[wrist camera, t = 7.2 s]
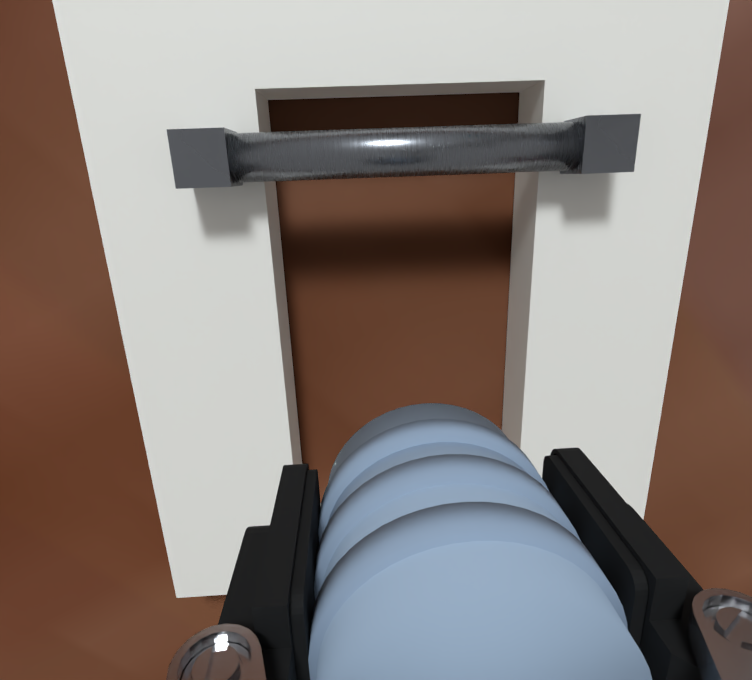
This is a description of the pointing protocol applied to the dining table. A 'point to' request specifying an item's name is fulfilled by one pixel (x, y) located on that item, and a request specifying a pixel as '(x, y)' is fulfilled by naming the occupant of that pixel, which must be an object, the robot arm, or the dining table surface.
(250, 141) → the dark gray bar handle
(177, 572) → the white frame with handle
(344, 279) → the dining table surface
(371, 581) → the stacked blue discs
